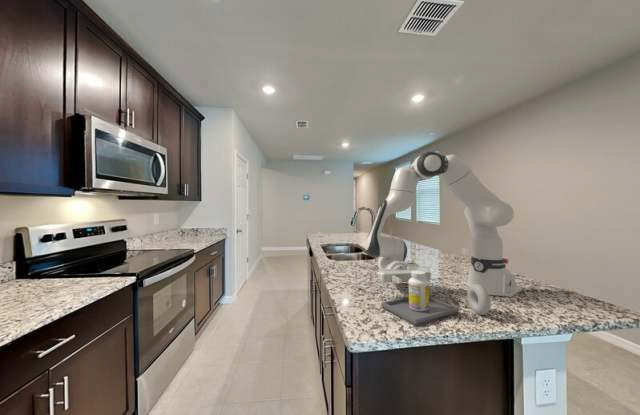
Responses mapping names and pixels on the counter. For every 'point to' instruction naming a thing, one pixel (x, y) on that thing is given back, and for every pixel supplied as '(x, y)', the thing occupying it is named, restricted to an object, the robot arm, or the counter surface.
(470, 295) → the donut
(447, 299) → the counter surface
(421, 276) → the supplement bottle
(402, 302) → the drying tray
